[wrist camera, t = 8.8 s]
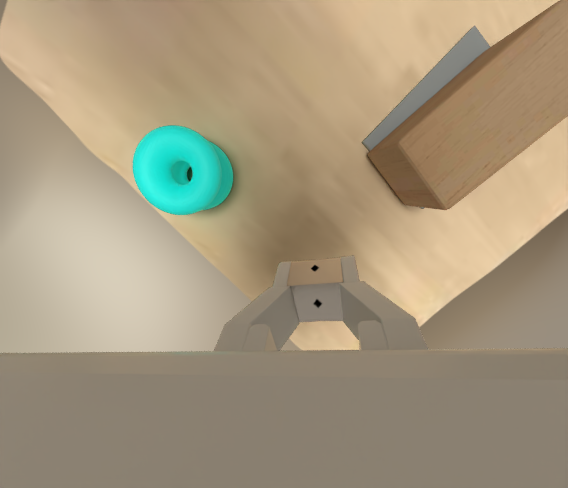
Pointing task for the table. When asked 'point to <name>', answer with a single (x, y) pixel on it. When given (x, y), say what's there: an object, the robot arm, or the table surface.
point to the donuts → (181, 171)
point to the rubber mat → (431, 84)
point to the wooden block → (481, 116)
